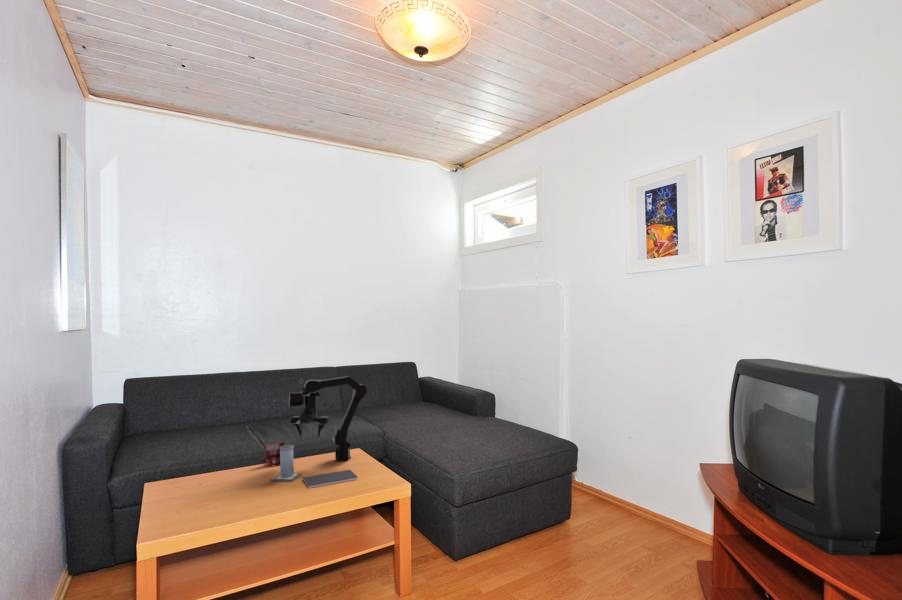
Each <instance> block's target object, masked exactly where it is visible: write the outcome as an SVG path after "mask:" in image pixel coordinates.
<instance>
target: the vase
mask: <svg viewBox="0 0 902 600" xmlns="http://www.w3.org/2000/svg"><path fill="white" fill-rule="evenodd" d="M294 446H295V445H293V444H286V445H285V444H284V446H281V447H280V451H279V453H280V462H279V463H280V468H279V469H280V473H279V474H281V478H289V477H292V476H294V473H295V472H294V468H295V467H294V448H295V447H294Z"/></svg>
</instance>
